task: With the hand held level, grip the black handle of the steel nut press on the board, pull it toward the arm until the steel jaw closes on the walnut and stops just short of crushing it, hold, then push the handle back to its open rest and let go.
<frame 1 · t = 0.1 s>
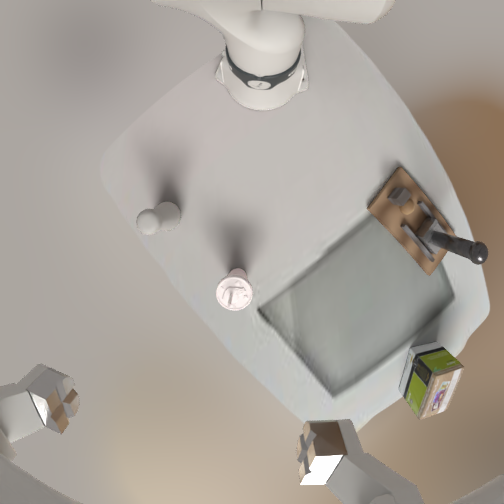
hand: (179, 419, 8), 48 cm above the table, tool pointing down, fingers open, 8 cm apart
tea box: (417, 365, 62), on the table
salt shaker: (170, 215, 54), on the table
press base: (430, 241, 54), on the table
handle slide: (453, 242, 43), point 11 cm above the table, slide at 2.5 cm
smoothie: (237, 276, 57), on the table
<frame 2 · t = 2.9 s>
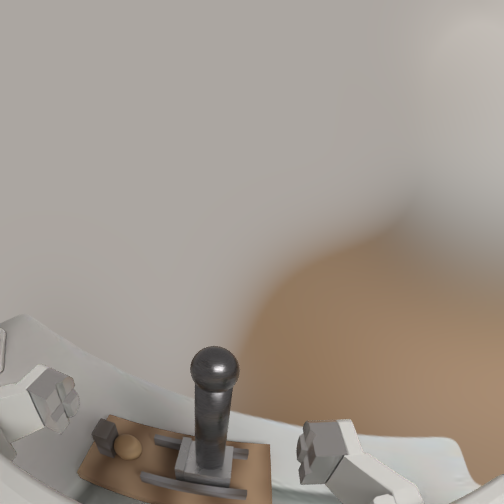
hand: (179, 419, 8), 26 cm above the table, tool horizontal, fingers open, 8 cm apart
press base: (229, 480, 25), on the table
handle slide: (206, 426, 23), point 11 cm above the table, slide at 2.5 cm
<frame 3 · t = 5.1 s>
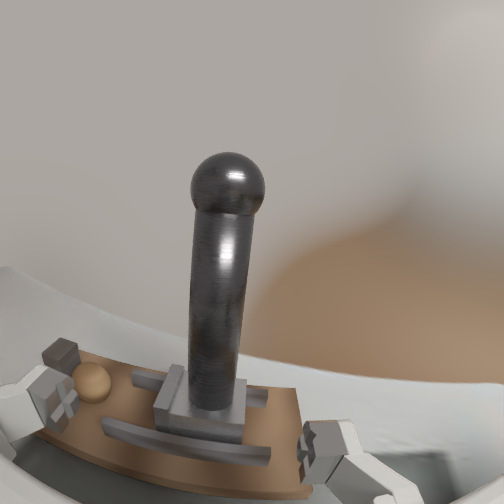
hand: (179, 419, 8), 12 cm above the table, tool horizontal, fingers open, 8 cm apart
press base: (239, 440, 19), on the table
handle slide: (207, 317, 16), point 11 cm above the table, slide at 2.5 cm
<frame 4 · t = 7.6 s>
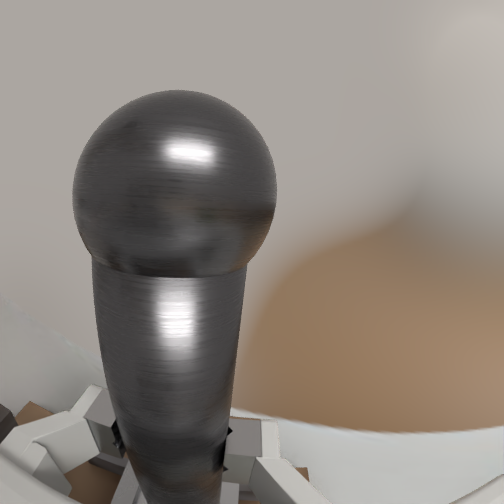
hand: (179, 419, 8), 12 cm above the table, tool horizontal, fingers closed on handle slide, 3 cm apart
handle slide: (160, 444, 7), point 11 cm above the table, slide at 2.5 cm, touching gripper
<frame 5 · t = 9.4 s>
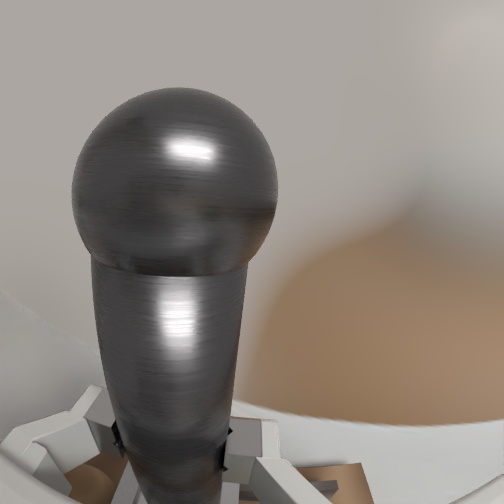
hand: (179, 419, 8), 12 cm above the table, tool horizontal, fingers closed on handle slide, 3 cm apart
handle slide: (160, 445, 7), point 11 cm above the table, slide at 6.8 cm, touching gripper
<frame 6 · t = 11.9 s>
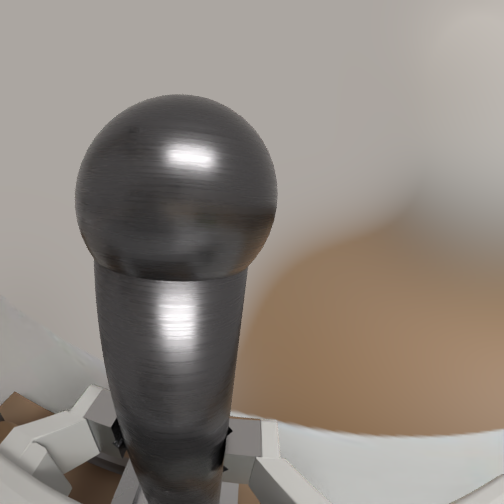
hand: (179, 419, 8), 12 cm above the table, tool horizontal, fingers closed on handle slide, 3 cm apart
handle slide: (160, 444, 7), point 11 cm above the table, slide at 0.3 cm, touching gripper
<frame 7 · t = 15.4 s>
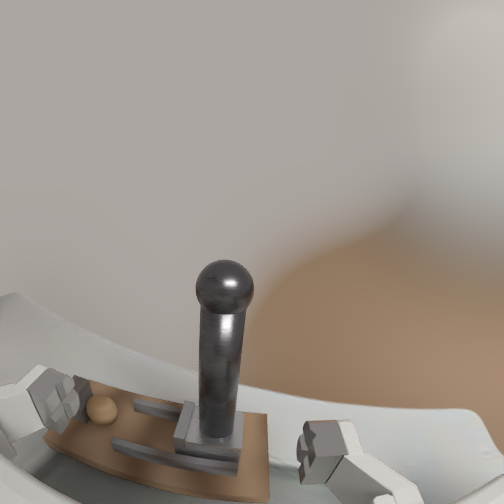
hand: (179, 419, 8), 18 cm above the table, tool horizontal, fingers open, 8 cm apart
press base: (218, 454, 23), on the table
handle slide: (212, 375, 20), point 11 cm above the table, slide at 0.3 cm
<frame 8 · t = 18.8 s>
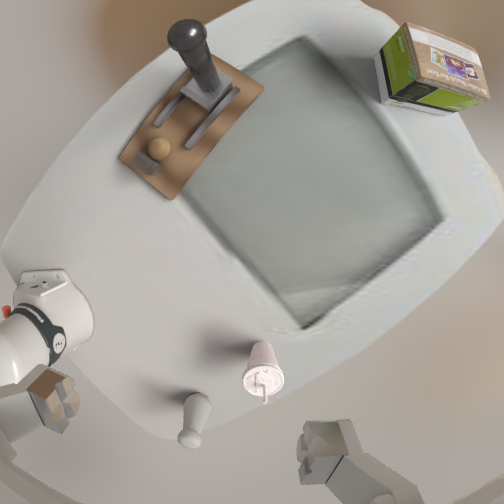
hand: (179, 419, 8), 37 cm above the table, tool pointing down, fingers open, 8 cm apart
tea box: (409, 87, 37), on the table
salt shaker: (200, 398, 51), on the table
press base: (215, 92, 39), on the table
handle slide: (198, 67, 28), point 11 cm above the table, slide at 0.3 cm
smoothie: (262, 348, 48), on the table
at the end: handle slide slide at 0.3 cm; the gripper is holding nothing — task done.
